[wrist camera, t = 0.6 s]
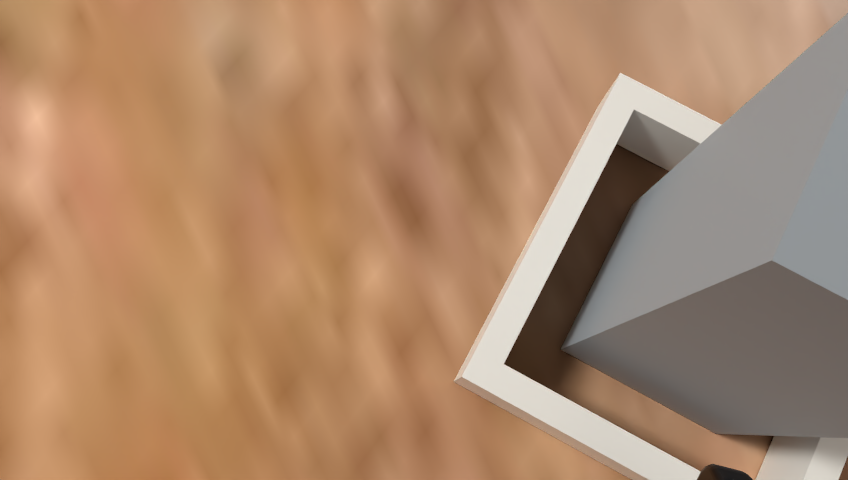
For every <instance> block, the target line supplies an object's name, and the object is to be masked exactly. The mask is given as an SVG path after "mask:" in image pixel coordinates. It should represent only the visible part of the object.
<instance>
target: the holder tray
mask: <svg viewBox="0 0 848 480" xmlns="http://www.w3.org/2000/svg"><path fill="white" fill-rule="evenodd" d="M720 126H721V124H719V123H717V122H715V121H713V120H711V119H709V118H707V117H705V116H704V115H702V114H700V113H698V112H696V111H694V110H692V109H690V108H688V107H686V106H684V105H682V104H680V103H678V102H676V101H674V100H672V99H670V98H668V97H666V96H665V95H663V94H661V93H659V92H657V91H655V90H653V89H651V88H649V87H647V86H645V85H643V84H641V83H639V82H637V81H635V80H633V79H631V78H629V77H627V76H625V75H624V74H622V73H620V74H619V76H618V77H617V79H616V80H615V82H614V83H613V85H612V86H611V88H610V89H609V91H608V92H607V94H606V95H605V97H604V98H603V100H602V101H601V103H600V104H599V106H598V107H597V109H596V111H595V113H594V115H593V117H592V119H591V120H590V122H589V124H588V126H587V128H586V130H585V132H584V134H583V136H582V138H581V140H580V141H579V143H578V145H577V147H576V149H575V151H574V153H573V155H572V157H571V159H570V161H569V162H568V164H567V166H566V168H565V170H564V172H563V174H562V176H561V178H560V180H559V181H558V183H557V185H556V187H555V189H554V191H553V193H552V195H551V197H550V199H549V201H548V202H547V204H546V206H545V208H544V210H543V212H542V214H541V216H540V218H539V220H538V222H537V223H536V225H535V227H534V229H533V231H532V233H531V235H530V237H529V239H528V241H527V243H526V244H525V246H524V248H523V250H522V252H521V254H520V256H519V258H518V260H517V262H516V263H515V265H514V267H513V269H512V271H511V273H510V275H509V277H508V279H507V281H506V283H505V284H504V286H503V288H502V290H501V292H500V294H499V296H498V298H497V300H496V302H495V304H494V305H493V307H492V309H491V311H490V313H489V315H488V317H487V319H486V321H485V323H484V325H483V326H482V328H481V330H480V332H479V334H478V336H477V338H476V340H475V342H474V344H473V346H472V347H471V349H470V351H469V353H468V355H467V357H466V359H465V361H464V363H463V365H462V366H461V368H460V370H459V372H458V374H457V376H456V378H455V380H454V382H455V383H457V384H459V385H461V386H462V387H464V388H466V389H468V390H470V391H471V392H473V393H475V394H477V395H479V396H481V397H482V398H484V399H486V400H488V401H490V402H491V403H493V404H495V405H497V406H499V407H501V408H502V409H504V410H506V411H508V412H510V413H511V414H513V415H515V416H517V417H519V418H521V419H522V420H524V421H526V422H528V423H530V424H531V425H533V426H535V427H537V428H539V429H541V430H542V431H544V432H546V433H548V434H550V435H551V436H553V437H555V438H557V439H559V440H561V441H562V442H564V443H566V444H568V445H570V446H571V447H573V448H575V449H577V450H579V451H580V452H582V453H584V454H586V455H588V456H590V457H591V458H593V459H595V460H597V461H599V462H600V463H602V464H604V465H606V466H608V467H610V468H611V469H613V470H615V471H617V472H619V473H620V474H622V475H624V476H626V477H628V478H630V479H631V480H697V478H698V476H699V474H700V471H699V470H697V469H695V468H693V467H691V466H689V465H688V464H686V463H684V462H682V461H680V460H678V459H677V458H675V457H673V456H671V455H669V454H667V453H666V452H664V451H662V450H660V449H658V448H656V447H655V446H653V445H651V444H649V443H647V442H645V441H644V440H642V439H640V438H638V437H636V436H635V435H633V434H631V433H629V432H627V431H625V430H624V429H622V428H620V427H618V426H616V425H614V424H613V423H611V422H609V421H607V420H605V419H603V418H602V417H600V416H598V415H596V414H594V413H592V412H591V411H589V410H587V409H585V408H583V407H581V406H580V405H578V404H576V403H574V402H572V401H570V400H569V399H567V398H565V397H563V396H561V395H559V394H558V393H556V392H554V391H552V390H550V389H548V388H547V387H545V386H543V385H541V384H539V383H537V382H536V381H534V380H532V379H530V378H528V377H526V376H525V375H523V374H521V373H519V372H517V371H515V370H514V369H512V368H510V367H508V366H506V365H504V362H505V360H506V359H507V357H508V355H509V353H510V351H511V349H512V347H513V345H514V343H515V341H516V339H517V337H518V335H519V333H520V331H521V329H522V327H523V325H524V323H525V321H526V319H527V317H528V316H529V314H530V312H531V310H532V308H533V306H534V304H535V302H536V300H537V298H538V296H539V294H540V292H541V290H542V288H543V286H544V284H545V282H546V280H547V278H548V276H549V275H550V273H551V271H552V269H553V267H554V265H555V263H556V261H557V259H558V257H559V255H560V253H561V251H562V249H563V247H564V245H565V243H566V241H567V239H568V237H569V235H570V233H571V232H572V230H573V228H574V226H575V224H576V222H577V220H578V218H579V216H580V214H581V212H582V210H583V208H584V206H585V204H586V202H587V200H588V198H589V196H590V194H591V192H592V190H593V189H594V187H595V185H596V183H597V181H598V179H599V177H600V175H601V173H602V171H603V169H604V167H605V165H606V163H607V161H608V159H609V157H610V155H611V153H612V151H613V149H614V147H615V146H616V144H618V145H619V146H621V147H623V148H625V149H627V150H629V151H631V152H633V153H635V154H637V155H639V156H641V157H643V158H644V159H646V160H648V161H650V162H652V163H654V164H656V165H658V166H660V167H662V168H664V169H666V170H668V171H670V170H672V169H673V168H674V167H675V166H676V165H677V164H678V163H679V162H681V161H682V160H683V159H684V158H685V157H686V156H687V155H688V154H690V153H691V152H692V151H693V150H694V149H695V148H696V147H697V146H699V145H700V144H701V143H702V142H703V141H704V140H705V139H707V138H708V137H709V136H710V135H711V134H712V133H713V132H714V131H716V130H717V129H718V128H719V127H720ZM847 457H848V438H827V437H797V436H774V437H773V439H772V442H771V444H770V447H769V449H768V451H767V454H766V456H765V459H764V461H763V463H762V466H761V468H760V471H759V473H758V475H757V478H756V480H839V477H840V474H841V472H842V469H843V467H844V464H845V462H846V459H847Z"/></svg>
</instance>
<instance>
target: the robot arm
mask: <svg viewBox="0 0 848 480" xmlns="http://www.w3.org/2000/svg"><path fill="white" fill-rule="evenodd" d="M697 480H753V479H752V478H751V477H750V476H749V475H747V474H746V473H744V472H742V471H739V470H735V469H731V468H727V467H723V466H719V465H715V464H711V465H708V466H706V467H705V468H704V469H703V470H702V471H701V472H700V474H699V476H698V478H697Z"/></svg>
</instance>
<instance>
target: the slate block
mask: <svg viewBox="0 0 848 480" xmlns="http://www.w3.org/2000/svg"><path fill="white" fill-rule="evenodd" d="M560 350H562V351H564V352H566V353H568V354H570V355H571V356H573V357H575V358H577V359H579V360H581V361H583V362H584V363H586V364H588V365H590V366H592V367H594V368H595V369H597V370H599V371H601V372H603V373H605V374H607V375H608V376H610V377H612V378H614V379H616V380H618V381H619V382H621V383H623V384H625V385H627V386H629V387H631V388H632V389H634V390H636V391H638V392H640V393H642V394H643V395H645V396H647V397H649V398H651V399H653V400H655V401H656V402H658V403H660V404H662V405H664V406H666V407H667V408H669V409H671V410H673V411H675V412H677V413H679V414H680V415H682V416H684V417H686V418H688V419H690V420H691V421H693V422H695V423H697V424H699V425H701V426H703V427H704V428H706V429H708V430H710V431H712V432H714V433H715V434H737V435H767V436H797V437H827V438H848V13H847V14H846V15H845V16H844V17H843V18H842V19H840V20H839V21H838V22H837V23H836V24H835V25H834V26H833V27H831V28H830V29H829V30H828V31H827V32H826V33H825V34H824V35H822V36H821V37H820V38H819V39H818V40H817V41H816V42H815V43H813V44H812V45H811V46H810V47H809V48H808V49H807V50H806V51H804V52H803V53H802V54H801V55H800V56H799V57H798V58H797V59H795V60H794V61H793V62H792V63H791V64H790V65H789V66H788V67H786V68H785V69H784V70H783V71H782V72H781V73H780V74H779V75H777V76H776V77H775V78H774V79H773V80H772V81H771V82H770V83H768V84H767V85H766V86H765V87H764V88H763V89H762V90H761V91H759V92H758V93H757V94H756V95H755V96H754V97H753V98H752V99H750V100H749V101H748V102H747V103H746V104H745V105H744V106H743V107H741V108H740V109H739V110H738V111H737V112H736V113H735V114H734V115H732V116H731V117H730V118H729V119H728V120H727V121H726V122H725V123H723V124H722V125H721V126H720V127H719V128H718V129H717V130H716V131H714V132H713V133H712V134H711V135H710V136H709V137H708V138H707V139H705V140H704V141H703V142H702V143H701V144H700V145H699V146H697V147H696V148H695V149H694V150H693V151H692V152H691V153H690V154H688V155H687V156H686V157H685V158H684V159H683V160H682V161H681V162H679V163H678V164H677V165H676V166H675V167H674V168H673V169H672V170H670V171H669V172H668V173H667V174H666V175H665V176H664V177H663V178H661V179H660V180H659V181H658V182H657V183H656V184H655V185H654V186H652V187H651V188H650V189H649V190H648V191H647V192H646V193H645V194H643V195H642V196H641V197H640V198H639V199H638V200H637V201H636V202H634V203H633V204H632V206H631V208H630V210H629V212H628V214H627V216H626V218H625V220H624V222H623V224H622V226H621V228H620V230H619V232H618V234H617V236H616V238H615V240H614V242H613V244H612V246H611V248H610V250H609V252H608V254H607V256H606V259H605V261H604V263H603V265H602V267H601V269H600V271H599V273H598V275H597V277H596V279H595V281H594V283H593V285H592V287H591V289H590V291H589V293H588V295H587V297H586V299H585V301H584V303H583V305H582V307H581V309H580V311H579V313H578V315H577V317H576V319H575V321H574V323H573V325H572V327H571V329H570V331H569V333H568V335H567V337H566V339H565V341H564V343H563V345H562V347H561V349H560Z"/></svg>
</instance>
